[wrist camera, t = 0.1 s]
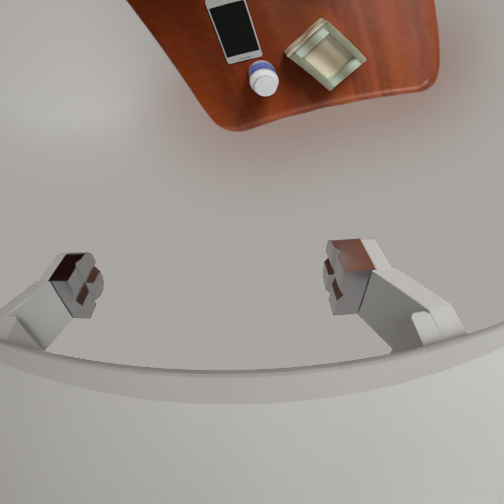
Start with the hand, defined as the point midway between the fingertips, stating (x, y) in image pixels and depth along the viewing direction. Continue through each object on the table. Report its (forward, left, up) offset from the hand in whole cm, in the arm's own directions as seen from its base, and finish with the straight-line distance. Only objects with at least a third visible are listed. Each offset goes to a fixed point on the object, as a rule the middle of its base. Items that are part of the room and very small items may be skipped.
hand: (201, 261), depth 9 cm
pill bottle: (+5, +11, -52) cm, 54 cm away
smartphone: (+1, +1, -53) cm, 53 cm away
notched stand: (-7, +17, -52) cm, 55 cm away
